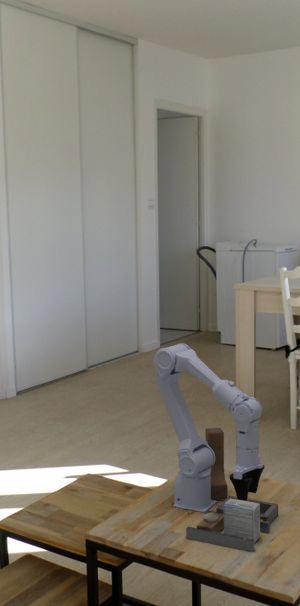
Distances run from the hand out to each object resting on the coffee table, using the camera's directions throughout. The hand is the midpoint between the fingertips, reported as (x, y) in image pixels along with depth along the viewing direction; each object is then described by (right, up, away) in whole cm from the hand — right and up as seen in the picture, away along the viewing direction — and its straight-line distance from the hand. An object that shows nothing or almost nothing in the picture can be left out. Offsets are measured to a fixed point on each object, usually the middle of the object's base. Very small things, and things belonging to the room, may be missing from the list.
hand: (247, 497), depth 193 cm
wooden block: (-7, -4, +16) cm, 18 cm away
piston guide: (-6, -7, -10) cm, 13 cm away
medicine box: (-3, -7, -11) cm, 14 cm away
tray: (0, -5, +1) cm, 5 cm away
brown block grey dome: (-10, -7, -8) cm, 14 cm away
